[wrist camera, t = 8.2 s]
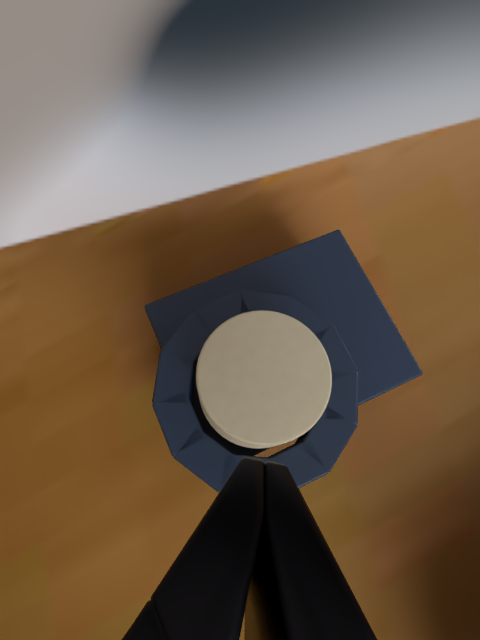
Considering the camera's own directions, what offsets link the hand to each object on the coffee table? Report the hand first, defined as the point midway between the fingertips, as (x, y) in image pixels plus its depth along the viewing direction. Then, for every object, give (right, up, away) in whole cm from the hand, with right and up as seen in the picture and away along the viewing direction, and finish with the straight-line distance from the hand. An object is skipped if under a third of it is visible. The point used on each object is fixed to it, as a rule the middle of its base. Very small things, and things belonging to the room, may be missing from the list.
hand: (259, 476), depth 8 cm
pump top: (0, +1, +7) cm, 7 cm away
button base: (+1, +1, +13) cm, 13 cm away
